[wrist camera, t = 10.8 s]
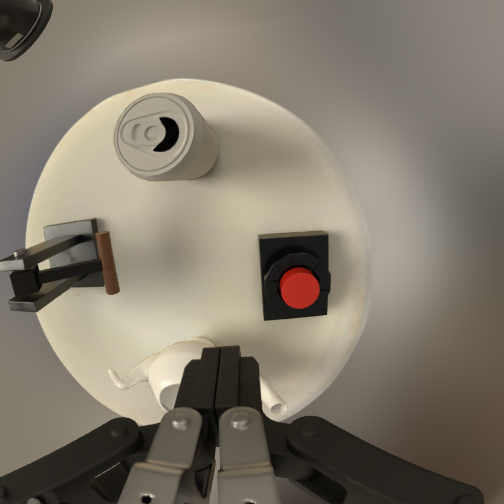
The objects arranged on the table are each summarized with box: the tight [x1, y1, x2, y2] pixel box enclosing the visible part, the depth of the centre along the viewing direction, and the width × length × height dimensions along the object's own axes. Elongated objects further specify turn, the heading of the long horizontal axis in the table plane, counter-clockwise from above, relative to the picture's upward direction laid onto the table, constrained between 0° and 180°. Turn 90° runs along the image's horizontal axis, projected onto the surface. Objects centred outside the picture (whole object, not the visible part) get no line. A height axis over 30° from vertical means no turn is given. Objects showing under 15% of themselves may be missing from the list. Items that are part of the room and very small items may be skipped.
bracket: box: [0, 218, 105, 312], centre depth 25 cm, size 8×8×12 cm
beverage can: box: [114, 93, 219, 181], centre depth 22 cm, size 6×6×12 cm
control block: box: [258, 231, 331, 321], centre depth 29 cm, size 9×7×4 cm
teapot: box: [108, 337, 288, 414], centre depth 29 cm, size 10×20×9 cm, turn 86°
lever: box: [10, 231, 120, 297], centre depth 23 cm, size 11×6×2 cm, turn 94°
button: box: [280, 267, 320, 309], centre depth 27 cm, size 4×4×2 cm
